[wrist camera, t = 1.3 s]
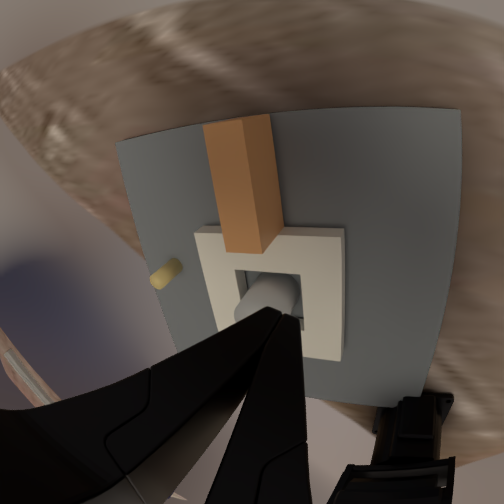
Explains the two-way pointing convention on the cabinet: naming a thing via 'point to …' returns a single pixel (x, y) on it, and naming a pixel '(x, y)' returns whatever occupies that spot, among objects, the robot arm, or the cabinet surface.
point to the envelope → (27, 377)
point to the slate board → (321, 216)
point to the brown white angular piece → (267, 237)
